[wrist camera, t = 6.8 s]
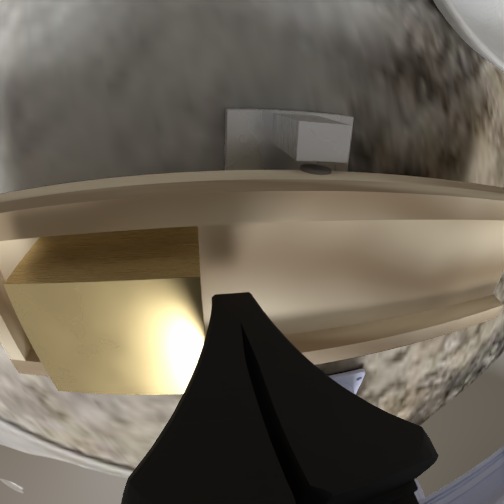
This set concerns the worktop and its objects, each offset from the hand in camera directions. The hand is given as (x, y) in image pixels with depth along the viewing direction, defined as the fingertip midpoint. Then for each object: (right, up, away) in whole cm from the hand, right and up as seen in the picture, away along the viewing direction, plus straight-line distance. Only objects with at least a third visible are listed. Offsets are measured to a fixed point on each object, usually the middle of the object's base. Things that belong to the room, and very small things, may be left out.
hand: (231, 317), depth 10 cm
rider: (-4, +1, +1) cm, 4 cm away
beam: (+3, +2, +3) cm, 5 cm away
